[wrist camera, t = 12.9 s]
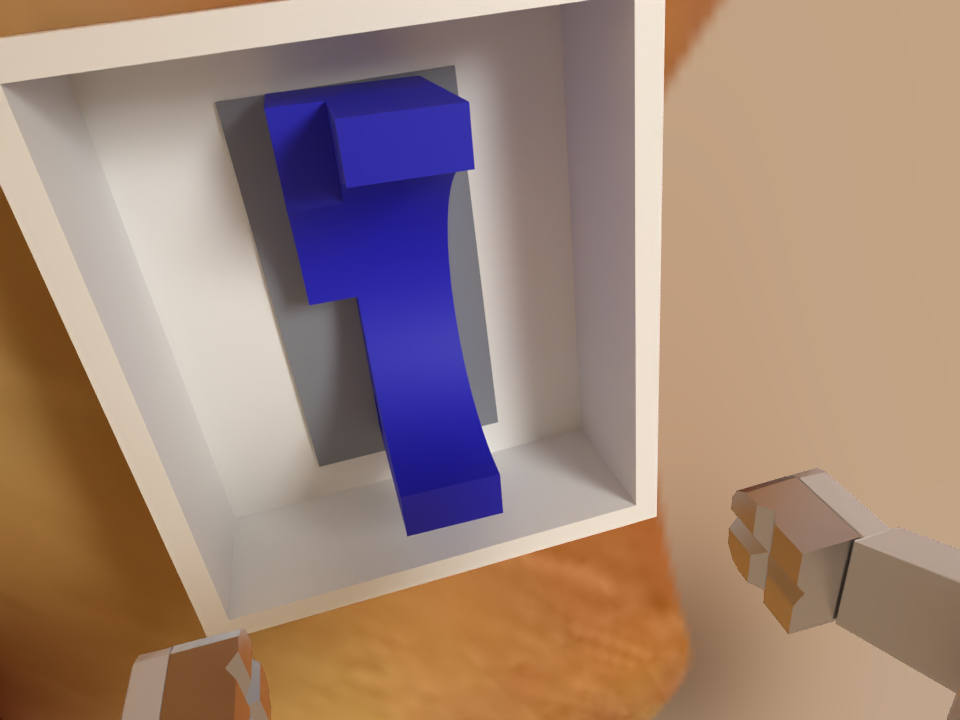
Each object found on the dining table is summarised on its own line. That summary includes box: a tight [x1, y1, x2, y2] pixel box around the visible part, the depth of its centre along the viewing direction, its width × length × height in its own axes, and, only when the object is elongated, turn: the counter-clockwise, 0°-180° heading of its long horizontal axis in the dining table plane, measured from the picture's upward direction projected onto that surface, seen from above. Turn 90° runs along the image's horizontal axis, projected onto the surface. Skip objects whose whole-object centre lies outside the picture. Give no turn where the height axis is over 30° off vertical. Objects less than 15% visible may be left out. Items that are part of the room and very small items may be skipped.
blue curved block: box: [264, 76, 503, 537], centre depth 20 cm, size 12×4×6 cm, turn 4°
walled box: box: [0, 0, 665, 637], centre depth 22 cm, size 16×18×6 cm
